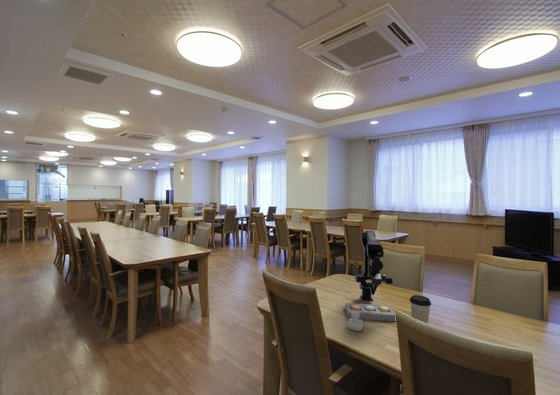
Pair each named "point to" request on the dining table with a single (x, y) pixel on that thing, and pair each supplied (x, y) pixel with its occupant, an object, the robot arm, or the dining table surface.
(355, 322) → the stamp
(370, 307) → the button sage
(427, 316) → the coffee cup
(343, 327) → the dining table surface
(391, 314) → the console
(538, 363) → the dining table surface
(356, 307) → the button terracotta
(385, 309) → the button mustard
